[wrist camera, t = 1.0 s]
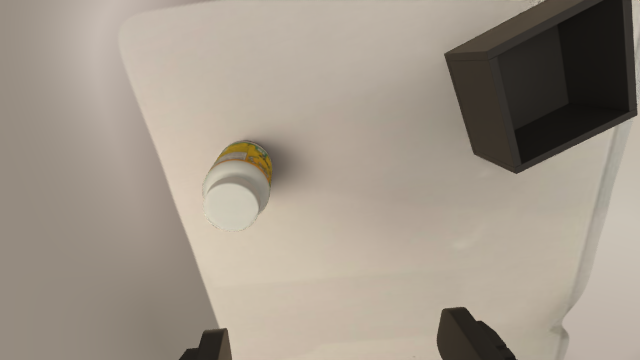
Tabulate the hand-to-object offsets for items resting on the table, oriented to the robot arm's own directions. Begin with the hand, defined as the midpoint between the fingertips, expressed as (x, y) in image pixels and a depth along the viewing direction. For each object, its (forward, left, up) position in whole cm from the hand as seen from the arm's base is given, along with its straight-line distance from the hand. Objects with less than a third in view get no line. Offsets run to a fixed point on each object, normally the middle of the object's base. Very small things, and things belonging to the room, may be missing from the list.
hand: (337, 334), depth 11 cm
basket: (+3, +23, -22) cm, 31 cm away
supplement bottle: (-2, -5, -22) cm, 22 cm away
